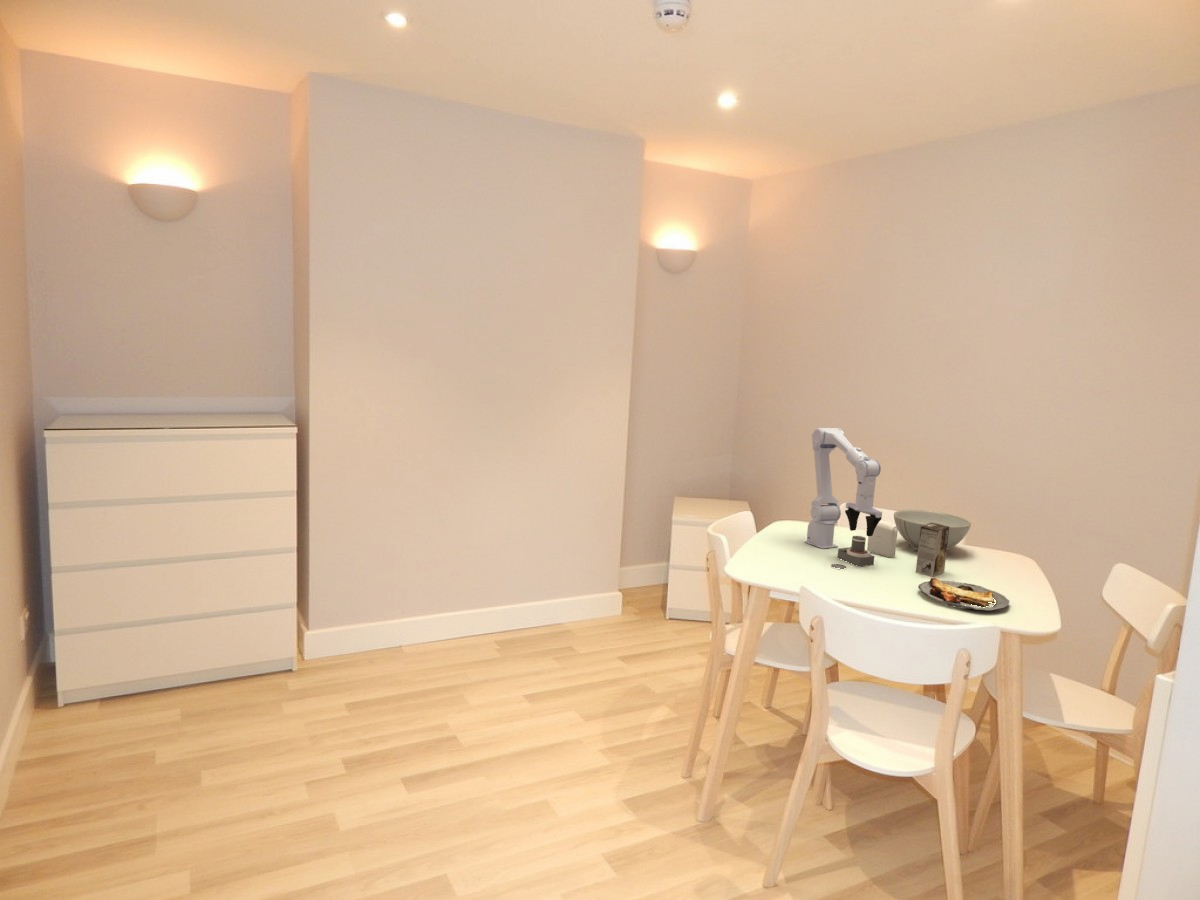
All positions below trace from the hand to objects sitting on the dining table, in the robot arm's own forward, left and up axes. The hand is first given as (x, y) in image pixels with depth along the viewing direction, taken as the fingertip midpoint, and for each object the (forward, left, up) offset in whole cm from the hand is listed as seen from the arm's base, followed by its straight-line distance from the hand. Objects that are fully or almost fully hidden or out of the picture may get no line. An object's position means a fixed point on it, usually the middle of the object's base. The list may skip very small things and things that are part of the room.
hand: (861, 533), depth 268 cm
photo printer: (-5, +16, -11) cm, 20 cm away
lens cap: (+2, -12, -11) cm, 16 cm away
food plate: (+40, +1, -11) cm, 42 cm away
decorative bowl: (-3, +40, -11) cm, 42 cm away
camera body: (-1, -1, -10) cm, 10 cm away
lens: (0, -1, -7) cm, 7 cm away
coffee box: (+17, +15, -11) cm, 25 cm away
